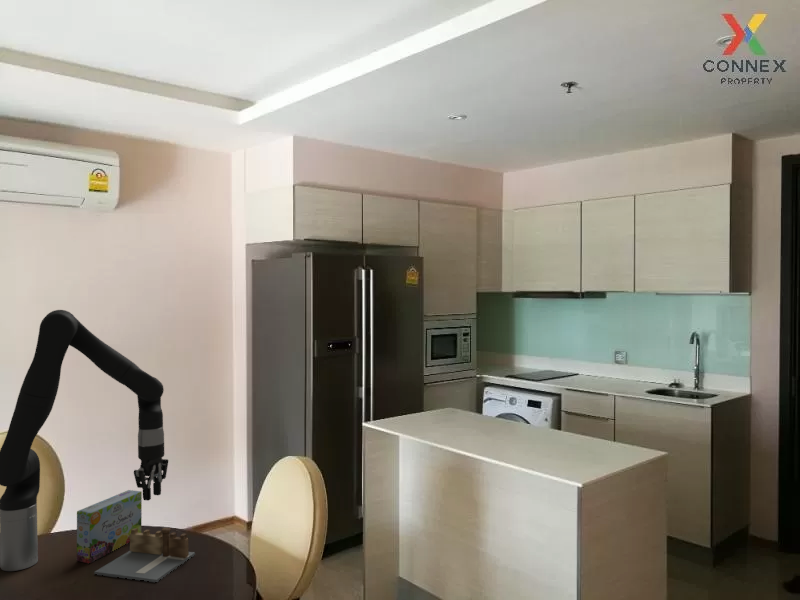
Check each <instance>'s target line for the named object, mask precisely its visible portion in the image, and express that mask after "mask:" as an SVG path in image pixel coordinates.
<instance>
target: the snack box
mask: <svg viewBox="0 0 800 600" xmlns="http://www.w3.org/2000/svg"><path fill="white" fill-rule="evenodd" d="M142 498H143V491H139V490H133V489H132V490H131V489H128V490H124V491H123V492H120V493H118V494H116V495H114V496H110V497H109V498H106V499H103V500H101V501H98V502H96V503H94V504H91V505H89V506H87V507H84V508H82V509H78V510H77V511H76V561H77V562H81V563H86V564H89V563H90V564H92V563H93V562H95V560H96V561H97V560H100V558H103V557H105V556H107V555H108V553H109V554H110V552H111V553H112V551H113V552H115V551H117V550H119V549H120V547H121V546H123V545H125V544H127V543H129V542H130V534H131V530H132V529H134V528H137V529H138V533H142V518H143V517H142V514H143V513H142V501H143V499H142ZM129 544H130V543H129ZM127 545H128V544H127ZM125 546H126V545H125ZM123 547H124V546H123ZM118 548H119V549H118ZM121 548H122V547H121ZM116 549H117V550H116ZM114 550H115V551H114ZM106 554H107V555H106Z"/></svg>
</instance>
